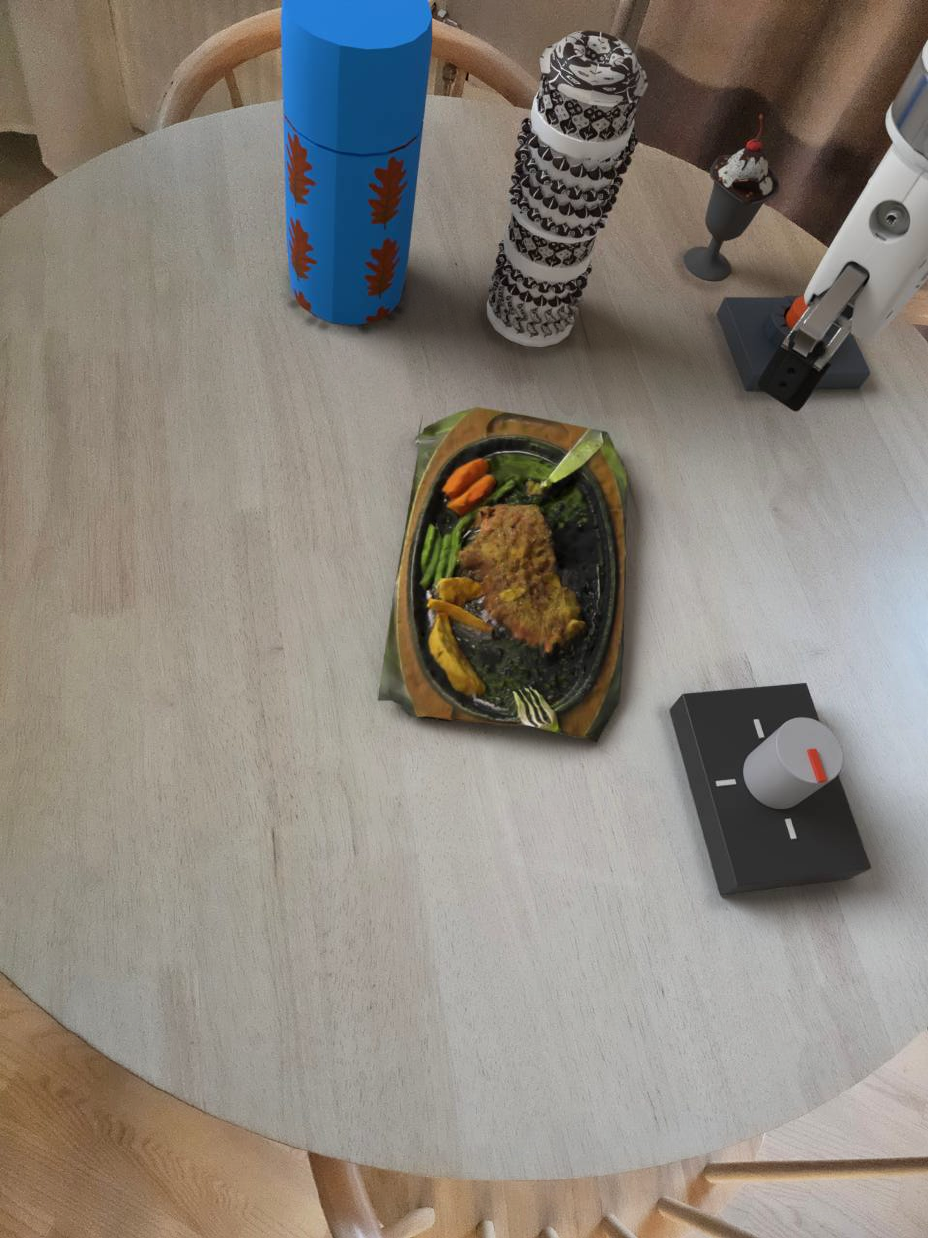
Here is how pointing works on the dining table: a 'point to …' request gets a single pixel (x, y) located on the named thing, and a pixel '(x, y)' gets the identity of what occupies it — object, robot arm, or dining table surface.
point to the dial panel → (740, 824)
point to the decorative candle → (564, 184)
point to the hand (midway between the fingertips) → (813, 358)
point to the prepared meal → (511, 576)
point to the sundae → (732, 205)
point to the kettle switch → (796, 311)
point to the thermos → (352, 149)
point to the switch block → (760, 332)
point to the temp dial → (793, 763)
